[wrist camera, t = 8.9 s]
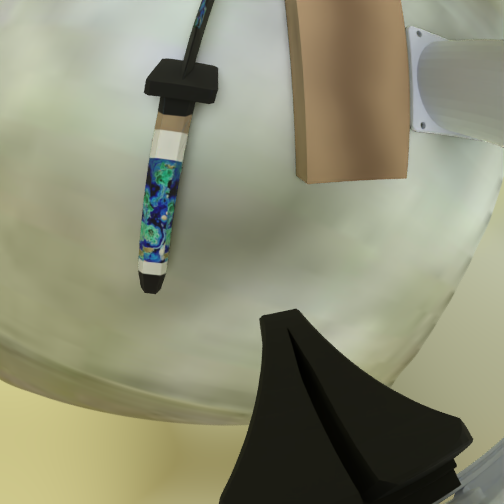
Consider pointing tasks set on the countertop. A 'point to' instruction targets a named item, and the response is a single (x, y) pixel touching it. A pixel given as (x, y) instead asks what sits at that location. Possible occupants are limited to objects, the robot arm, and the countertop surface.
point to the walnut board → (349, 89)
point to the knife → (171, 147)
